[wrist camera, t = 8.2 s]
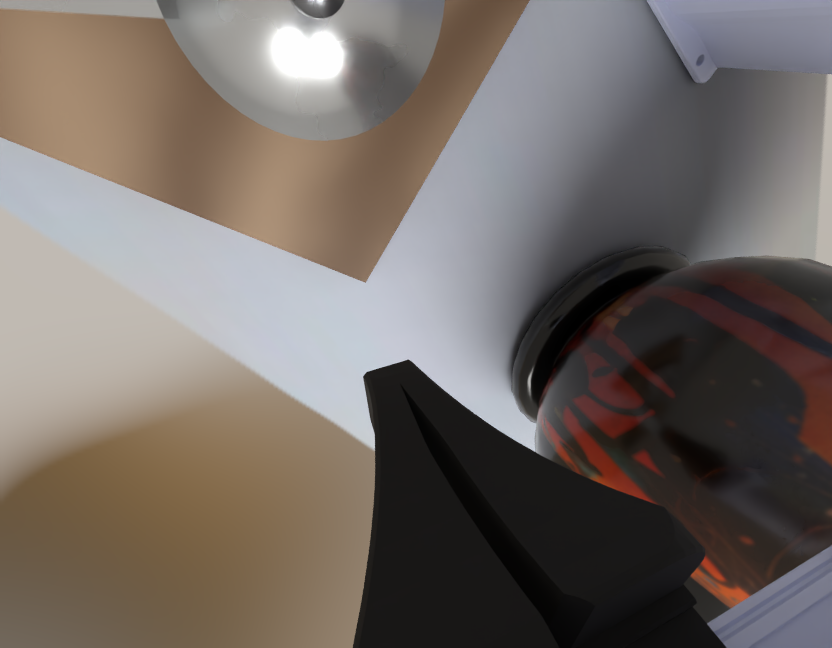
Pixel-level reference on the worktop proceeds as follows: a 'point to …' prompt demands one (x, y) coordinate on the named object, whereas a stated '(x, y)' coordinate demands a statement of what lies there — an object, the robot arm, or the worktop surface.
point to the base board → (235, 129)
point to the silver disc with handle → (293, 54)
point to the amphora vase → (696, 402)
